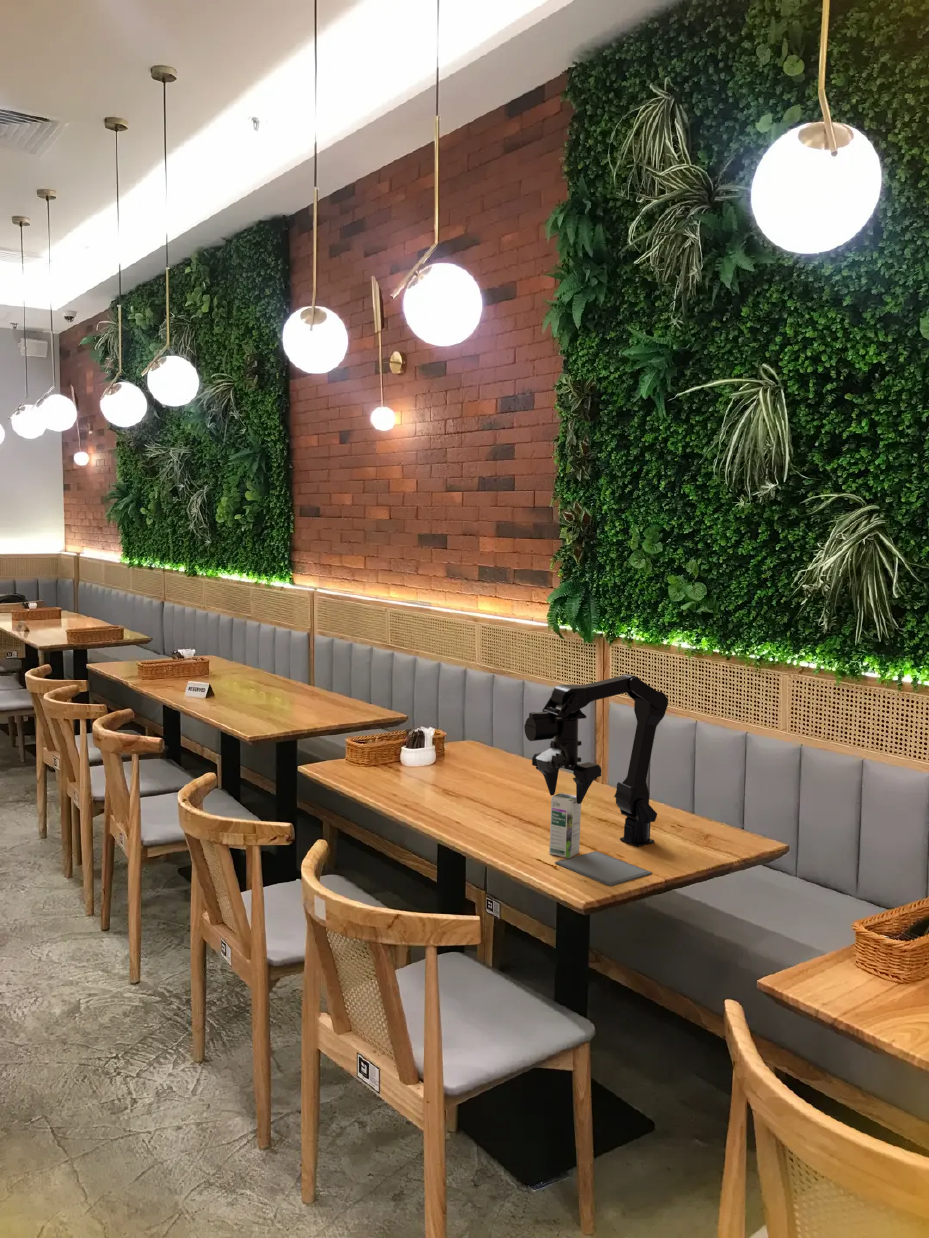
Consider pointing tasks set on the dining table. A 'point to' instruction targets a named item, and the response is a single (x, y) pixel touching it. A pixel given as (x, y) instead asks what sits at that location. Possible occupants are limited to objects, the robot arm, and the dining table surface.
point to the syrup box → (565, 825)
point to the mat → (603, 868)
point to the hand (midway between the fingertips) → (565, 799)
